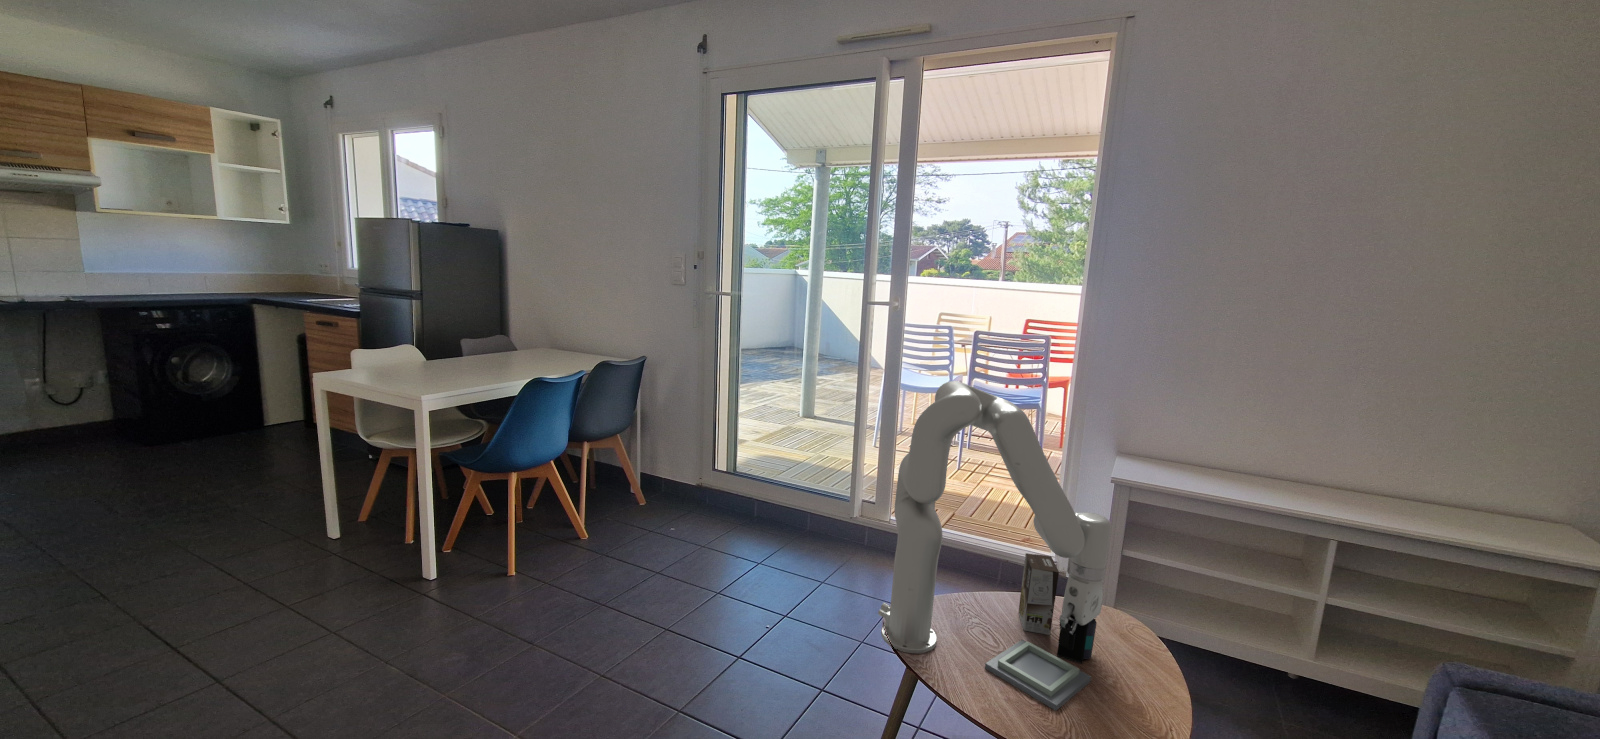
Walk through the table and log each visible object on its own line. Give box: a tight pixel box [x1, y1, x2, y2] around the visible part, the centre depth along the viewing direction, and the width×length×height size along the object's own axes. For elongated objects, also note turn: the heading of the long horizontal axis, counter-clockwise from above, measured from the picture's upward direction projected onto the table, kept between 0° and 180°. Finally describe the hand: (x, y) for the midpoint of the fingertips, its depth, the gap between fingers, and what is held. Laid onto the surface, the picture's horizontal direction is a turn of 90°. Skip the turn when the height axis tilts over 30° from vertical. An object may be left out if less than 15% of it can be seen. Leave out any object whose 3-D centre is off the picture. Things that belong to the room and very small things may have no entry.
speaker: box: [1056, 615, 1097, 665], centre depth 139 cm, size 8×6×10 cm
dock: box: [984, 639, 1092, 711], centre depth 131 cm, size 16×15×2 cm
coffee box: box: [1018, 553, 1060, 636], centre depth 150 cm, size 9×6×16 cm
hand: (1076, 639), depth 140 cm, fingers open, 9 cm apart
